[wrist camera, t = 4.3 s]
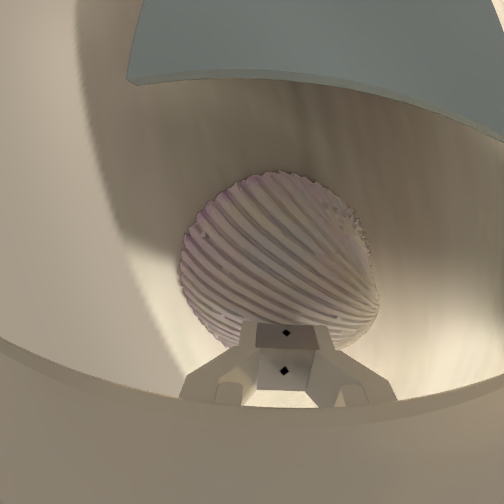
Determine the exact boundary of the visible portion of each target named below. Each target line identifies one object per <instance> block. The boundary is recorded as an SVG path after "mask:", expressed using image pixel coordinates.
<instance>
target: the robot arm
mask: <svg viewBox="0 0 504 504" xmlns="http://www.w3.org/2000/svg"><path fill="white" fill-rule="evenodd" d="M256 332H257V333H256ZM256 390H285V391H306V393H307V395H308V396H309V397H310V398H311V399H312V400H313V401H314V402H315V403H316V405H317V406H318V407H319V408H273V407H254V406H243V405H244V404H245V403H246V401H247V400H248V399H249V398H250V397H251V396H252V395H253V394H254V393H255V392H256ZM0 504H504V374H501V375H498V376H496V377H493V378H490V379H487V380H484V381H481V382H477V383H474V384H471V385H467V386H464V387H460V388H457V389H453V390H449V391H445V392H440V393H436V394H431V395H427V396H422V397H416V398H411V399H405V400H399V401H398V400H397V398H396V396H395V394H394V392H393V389H392V387H391V385H390V383H389V381H388V380H386V379H384V378H383V377H381V376H380V375H378V374H376V373H375V372H373V371H372V370H370V369H368V368H367V367H365V366H364V365H362V364H360V363H359V362H357V361H356V360H354V359H353V358H351V357H350V356H348V355H346V354H345V353H343V352H342V351H340V350H335V347H334V344H333V341H332V339H331V336H330V333H329V330H328V328H327V326H326V325H285V324H274V323H261V322H250V321H243V322H242V326H241V332H240V338H239V344H238V346H233V347H231V348H230V349H228V350H227V351H225V352H224V353H222V354H221V355H219V356H217V357H216V358H214V359H213V360H211V361H210V362H208V363H206V364H205V365H203V366H202V367H200V368H198V369H197V370H195V371H193V372H192V373H190V374H188V375H187V376H186V379H185V382H184V384H183V387H182V390H181V392H180V395H179V397H174V396H169V395H164V394H159V393H154V392H150V391H145V390H141V389H137V388H133V387H129V386H125V385H122V384H118V383H114V382H111V381H108V380H104V379H101V378H97V377H94V376H91V375H88V374H85V373H82V372H79V371H76V370H74V369H71V368H68V367H66V366H63V365H61V364H58V363H55V362H53V361H50V360H48V359H46V358H43V357H41V356H39V355H36V354H34V353H32V352H30V351H28V350H25V349H23V348H21V347H19V346H17V345H15V344H13V343H11V342H9V341H7V340H5V339H3V338H1V337H0Z"/></svg>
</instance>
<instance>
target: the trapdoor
mask: <svg viewBox="0 0 504 504" xmlns="http://www.w3.org/2000/svg"><path fill="white" fill-rule="evenodd" d="M212 78H254V79H274V80H287V81H297V82H306V83H314V84H321V85H328V86H334V87H340V88H346V89H351V90H356V91H361V92H365V93H370V94H374V95H378V96H382V97H386V98H390V99H394V100H397V101H401V102H404V103H408V104H411V105H414V106H417V107H420V108H423V109H426V110H429V111H432V112H435V113H438V114H440V115H443V116H446V117H448V118H451V119H453V120H456V121H458V122H460V123H463V124H465V125H467V126H470V127H472V128H474V129H476V130H478V131H481V132H483V133H485V134H487V135H489V136H491V137H493V138H495V139H497V140H499V141H500V142H502V143H504V32H503V29H502V26H501V24H500V21H499V18H498V16H497V13H496V11H495V8H494V6H493V4H492V1H491V0H144V2H143V5H142V9H141V12H140V16H139V20H138V24H137V28H136V32H135V36H134V40H133V45H132V50H131V55H130V60H129V65H128V71H127V77H126V80H128V81H130V82H132V83H133V84H135V85H137V86H138V85H145V84H152V83H160V82H169V81H179V80H192V79H212Z"/></svg>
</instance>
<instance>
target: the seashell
mask: <svg viewBox="0 0 504 504" xmlns="http://www.w3.org/2000/svg"><path fill="white" fill-rule="evenodd" d="M354 212H355V210H354V209H352V210H351V209H350V207H349V206H346V205H345V204H344V203H343V202H342V200H341V199H340V197H339V196H337V195H334V194H333V193H332V191H331V190H330V189H329V188H327V187H325V188H324V187H323V186H322V185H321V184H320V183H318V182H316V181H315V182H314V183H312V182H311V181H310V180H309V179H307V178H306V176H304V177H303V178H302V177H300V176H299V175H298V174H296V173H291V174H288V173H286V172H283V171H281V170H278V173H275V172H265V174H264V175H258V174H256V175H253V176H250V177H248V178H247V179H246V180H242V181H241V182H236V181H235V183H234V185H233V186H232V187H229V188H228V189H227V191H222V192H221V193H219V194H218V196H217V197H216V199H215V201H208V202H207V204H206V208H205V210H203V211H200V212H198V214H197V216H196V219H197V222H196V223H195V224H194V225H192V226H190V227H189V232H190V235H189V234H186V233H184V239H183V242H184V245H185V248H184V249H183V250H182V251H181V252H180V253H181V258H182V261H181V262H180V264H179V265H180V266H181V267H180V270H181V271H182V273H181V282H182V283H183V284H184V286H183V290H184V292H185V294H186V295H187V302H188V304H189V305H191V306H192V309H193V312H194V314H195V315H196V316H197V317H198V319H199V320H200V322H201V323H202V324H203V325H204V326H205V327H206V329H207V330H208V332H210V333H211V334H213V335H214V337H215V338H216V339H217V340H219V341H221V342H222V344H223V345H224V346H225V347H226V348H227V347H229V348H231V347H233V346H238V344H239V338H240V332H241V326H242V322H243V321H250V322H261V323H274V324H285V325H326V326H327V328H328V330H329V333H330V336H331V339H332V341H333V344H334V347H335V350H341V349H343V348H345V347H347V346H348V345H350V344H352V343H353V342H355V341H356V340H357V339H359V338H360V337H361V336H362V335H364V334H365V333H366V332H367V330H368V329H369V328H370V327H371V325H372V323H373V321H374V320H375V318H376V316H377V313H378V309H379V294H378V292H377V290H376V286H375V282H374V277H373V275H372V272H371V268H370V267H371V265H370V264H369V256H371V252H370V250H369V249H367V247H368V246H369V241H367V240H365V238H364V237H365V235H366V233H365V232H364V231H362V226H361V223H360V222H358V221H359V218H358V219H355V217H354V215H353V214H354ZM256 333H257V332H256Z"/></svg>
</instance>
